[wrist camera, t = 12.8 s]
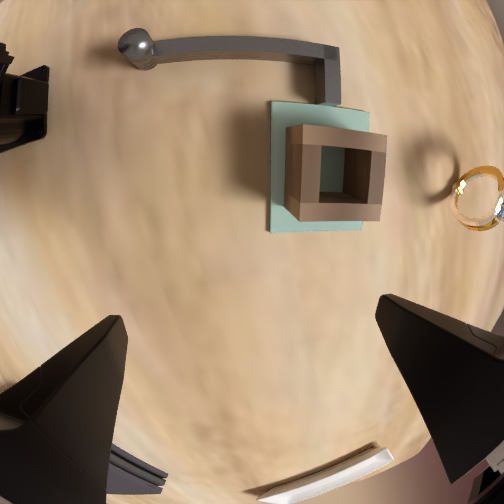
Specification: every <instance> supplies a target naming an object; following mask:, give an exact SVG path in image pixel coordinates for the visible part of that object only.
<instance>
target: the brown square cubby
mask: <svg viewBox="0 0 504 504" xmlns="http://www.w3.org/2000/svg"><path fill="white" fill-rule="evenodd" d="M321 146H333V147H343V148H345V158H344V175H343V190H342V192H319V190H320V171H321ZM386 147H387V135H382V134H376V133H370V132H364V131H357V130H350V129H343V128H335V127H326V126H316V125H305V124H302V125H296V126H291V127H286V142H285V183H284V208H285V209H286V210H287V211H289V212H290V213H291V214H292V215H293V216H294V217H295V218H296V219H297V220H298V221H299V222H318V221H380V214H381V206H382V197H383V188H384V177H385V164H386Z"/></svg>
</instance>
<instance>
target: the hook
mask: <svg viewBox="0 0 504 504" xmlns="http://www.w3.org/2000/svg"><path fill="white" fill-rule="evenodd" d="M118 49H119V51H120V52H121V53H122V54H123V55H124V56H125V57H126V58H127V59H128V60H130V61H131V62H132V63H133V64H134V65H135V66H136V67H137V68H138V69H140V70H149V69H152V68H154V67H155V66H156V65H157V64H161V63H170V62H180V61H192V60H211V59H252V60H271V61H284V62H294V63H303V64H310V65H315V105H323V106H331V107H332V106H336V105H341V75H340V54H339V47H334V46H329V45H324V44H318V43H312V42H305V41H298V40H290V39H280V38H269V37H252V36H206V37H189V38H178V39H168V40H160V41H153V40H152V39H151V37H150V35H149V34H148V32H147V31H146V30H144V29H141V28H134V29H131V30H129V31H127V32H126V33H124V34H123V35H122V37H121V38H120V40H119V42H118Z"/></svg>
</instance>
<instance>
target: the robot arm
mask: <svg viewBox="0 0 504 504" xmlns="http://www.w3.org/2000/svg"><path fill="white" fill-rule="evenodd" d="M8 54H9V52H7V51H6V44H4V43H0V153H2V152H5V151H8V150H10V149H13V148H16V147H19V146H22V145H25V144H28V143H31V142H34V141H37V140H40V139H43V138H44V137H45V136H46V134H47V107H48V87H49V84H48V80H49V67H48V66H46V65H43V66H41V67H38V68H36V69H34V70H32V71H29V72H27V73H25V74H23V75H21V76H17V75H13V74H8V73H6V70H7V68H8V66H9V64H11V63H12V61H13V59H14V57H12V56H9V55H8ZM44 69H45V71H44V73H43V70H44ZM41 131H42V134H41V135H40V132H41ZM375 318H376V321H377V324H378V326H379V328H380V331H381V333H382V335H383V338H384V340H385V342H386V345H387V347H388V349H389V352H390V354H391V356H392V358H393V359H394V361H395V363H396V365H397V367H398V369H399V371H400V373H401V375H402V377H403V378H404V380H405V382H406V384H407V386H408V388H409V390H410V392H411V394H412V396H413V398H414V400H415V402H416V405H417V407H418V409H419V411H420V413H421V415H422V417H423V419H424V422H425V424H426V426H427V428H428V430H429V433H430V435H431V437H432V439H433V442H434V444H435V447H436V449H437V451H438V453H439V456H440V459H441V461H442V464H443V466H444V469H445V471H446V474H447V476H448V479H449V481H450V483H451V484H453V483H454V482H456V481H457V480H458V479H460V478H461V477H463V476H464V475H466V474H467V473H468V472H469V471H471V470H472V469H473V468H475V467H476V466H477V465H478V464H480V463H481V462H482V461H483V460H484V459H486V460H487V461H488V463H489V465H490V466H488V467H487V468H486V469H485V470H484V471H483V472H481V473H480V474H479V475H478V476H477V477H476V478H474V482H473V486H472V490H471V494H470V497H469V501H468V504H504V337H503V336H500V335H497V334H494V333H491V332H489V331H486V330H483V329H480V328H478V327H475V326H473V325H470V324H466V323H465V322H462V321H460V320H457V319H455V318H452V317H450V316H447V315H445V314H442V313H439V312H437V311H434V310H432V309H429V308H427V307H424V306H422V305H419V304H416V303H414V302H411V301H409V300H406V299H404V298H401V297H398V296H396V295H393V294H385V295H381V296H380V298H379V302H378V306H377V309H376V313H375ZM127 344H128V336H127V332H126V329H125V326H124V322H123V319H122V317H121V316H120V315H109V316H107V317H106V318H105V319H103V320H102V321H100V322H99V323H98V324H96V325H95V326H93V327H92V328H91V329H89V330H88V331H86V332H85V333H84V334H82V335H81V336H80V337H78V338H77V339H75V340H74V341H73V342H71V343H70V344H69V345H67V346H66V347H65V348H63V349H62V350H61V351H59V352H58V353H57V354H55V355H54V356H53V357H51V358H50V359H49V360H47V361H46V362H45V363H43V364H42V365H41V366H40V367H38V368H37V369H35V370H34V371H33V372H31V373H30V374H29V375H27V376H26V377H25V378H23V379H22V380H20V381H19V382H18V383H16V384H15V385H13V386H12V387H10V388H9V389H7V390H5V391H4V392H2V393H1V394H0V504H106V493H107V490H106V489H107V480H108V470H109V461H110V454H111V446H112V439H113V433H114V427H115V421H116V415H117V410H118V404H119V399H120V394H121V389H122V385H123V379H124V371H125V361H126V352H127Z"/></svg>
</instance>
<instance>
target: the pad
mask: <svg viewBox="0 0 504 504" xmlns="http://www.w3.org/2000/svg"><path fill="white" fill-rule="evenodd" d="M302 124H305V125H316V126H326V127H335V128H343V129H350V130H357V131H364V132H369V112H363V111H357V110H351V109H345V108H338V107H331V106H323V105H314V104H303V103H291V102H274V101H272V102H271V196H270V233H291V232H318V231H349V230H362V224H363V221H318V222H299V221H298V220H297V219H296V218H295V217H294V216H293V215H292V214H291V213H290V212H289V211H287V210H286V209H285V208H284V183H285V142H286V127H291V126H296V125H302ZM344 158H345V148H343V147H333V146H321V171H320V190H319V192H342V190H343V175H344Z"/></svg>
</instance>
